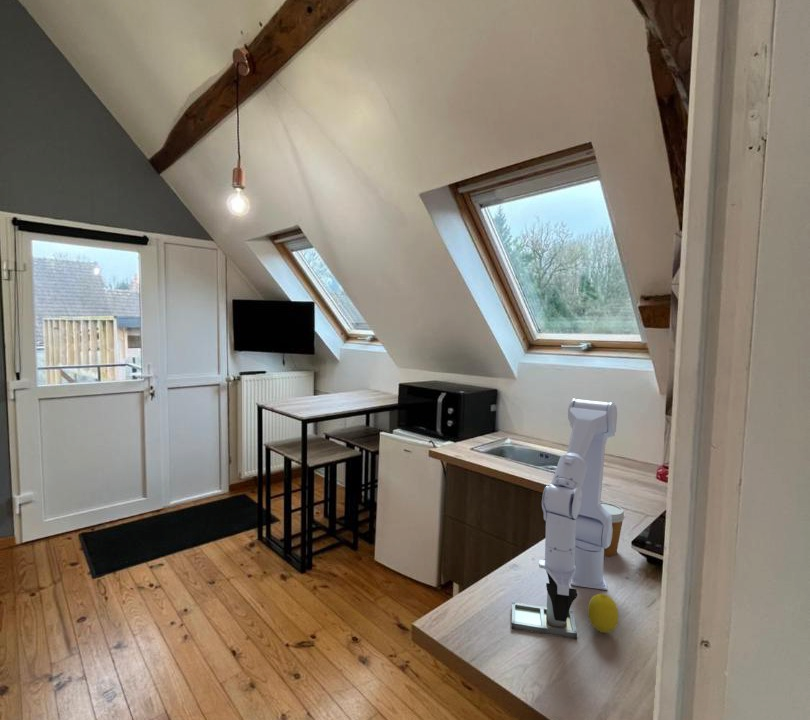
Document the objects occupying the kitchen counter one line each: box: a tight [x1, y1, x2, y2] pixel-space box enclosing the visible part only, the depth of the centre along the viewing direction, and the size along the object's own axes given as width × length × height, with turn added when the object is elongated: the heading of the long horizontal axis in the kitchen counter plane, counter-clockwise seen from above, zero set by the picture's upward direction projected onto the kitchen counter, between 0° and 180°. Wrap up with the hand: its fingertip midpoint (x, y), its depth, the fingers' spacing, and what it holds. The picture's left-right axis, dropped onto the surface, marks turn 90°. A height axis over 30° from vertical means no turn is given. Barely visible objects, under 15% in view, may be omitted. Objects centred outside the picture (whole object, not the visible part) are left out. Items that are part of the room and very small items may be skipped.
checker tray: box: [511, 602, 578, 640], centre depth 90 cm, size 7×12×1 cm, turn 76°
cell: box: [546, 591, 567, 629], centre depth 89 cm, size 4×4×7 cm
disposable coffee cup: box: [600, 501, 626, 557], centre depth 119 cm, size 10×10×12 cm
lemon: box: [587, 593, 619, 634], centre depth 87 cm, size 6×6×8 cm
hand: (558, 607), depth 89 cm, fingers open, 7 cm apart
